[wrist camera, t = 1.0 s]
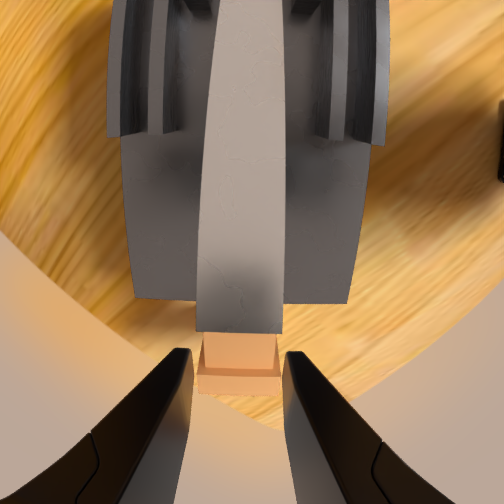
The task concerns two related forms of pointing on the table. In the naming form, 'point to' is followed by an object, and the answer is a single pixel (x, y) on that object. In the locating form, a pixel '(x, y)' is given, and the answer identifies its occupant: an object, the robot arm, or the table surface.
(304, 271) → the slotted grey stand
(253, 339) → the tan piece
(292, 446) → the robot arm
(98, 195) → the table surface
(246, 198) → the strap
